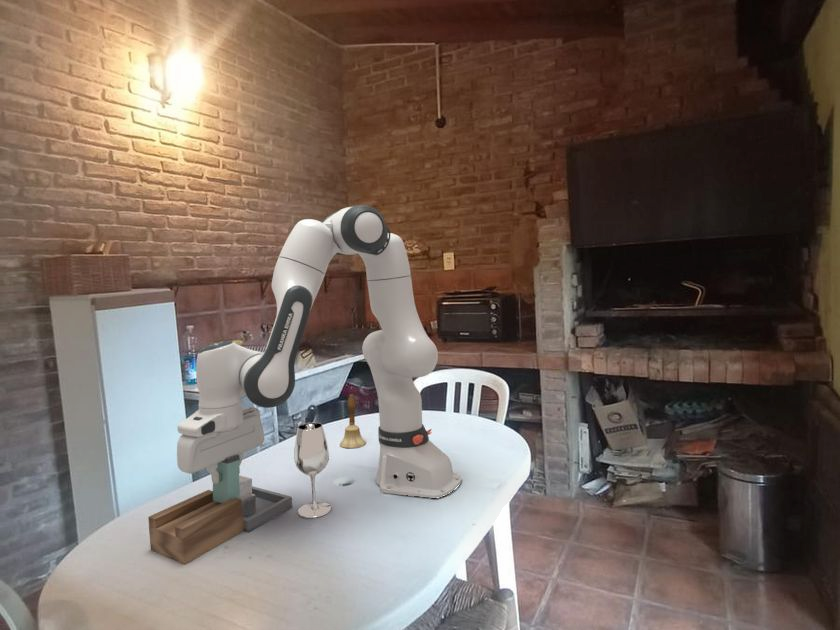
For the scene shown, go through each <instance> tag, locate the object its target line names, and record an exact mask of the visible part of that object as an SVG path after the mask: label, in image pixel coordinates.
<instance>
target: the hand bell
mask: <svg viewBox="0 0 840 630" xmlns="http://www.w3.org/2000/svg"><path fill="white" fill-rule="evenodd" d="M348 395H349V396H348V399H347V410H348V415H349V422H348V424H349V425H348V426H346V427H345V428H344V435H343V439H342V440H341V441H340V443H339V446H340V447H341V448H344V449H358V448H361V447H363V446H365V445H366V444H367V442H366V439H364V438H363V436H362V434H361V431H360V427H359V426H358V425H357V424H355V422H356V419H355V413H356V407H357V402H356V399H355V395H354V394H353V393H351V394H348Z"/></svg>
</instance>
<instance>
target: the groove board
mask: <svg viewBox="0 0 840 630" xmlns="http://www.w3.org/2000/svg"><path fill="white" fill-rule="evenodd" d="M147 518H148V531H149V544H150V545H149V546H150V551H152V552H155V553H157V554H160V555H162V556H164V557H167V558H170V559H171V560H174V561H176V562H179V563H182V564H183V565H186V564H188V563H190V562H192V561H193V560H195V559H197V558H199V557H200V556H202V555H204V554H205V553H208V552H210V551H211V550H212V549H215V548H216V547H219V545H221V544H223V543H225V542H227V541H228V540H230V539H232V538H234V537H235V536H237V535H239V534H241V533H243V532H245V531H244V528H243V513H242V503H241V499H238V498H235V497H234V498H232V499H230V500H228V501H226V502H224V503H219V502H216V501H213V490H210V489H207V490H205V491H202V492H200V493H198V494H195V495H193V496H190V497H189V498H187V499H185V500H183V501H181V502H178V503H176V504H173V505H171V506H169V507H167V508H165V509H163V510H160V511H158V512H156V513H153V514H151V515H150V516H148V517H147Z"/></svg>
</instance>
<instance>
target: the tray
mask: <svg viewBox="0 0 840 630" xmlns="http://www.w3.org/2000/svg"><path fill="white" fill-rule="evenodd" d="M252 494H255V495H256V512H254V513H252V514H250V515H248V516H245V517H243V528H244V531H243V532H246V533H250V532H252V531H254V530H255V529H257V528H259V527H260V526H262V525H264V524H266V523H267V522H270V521H271V520H272V519H275V518H277V517H278V516H280V515H281V514H283V513H285V512H286V511H288V510H290V509H292V508H293V496H291V495H290V496H289V495H287V494H282V493H279V492H275V491H271V490H268V489H264V488H261V487H256V486H253V485H252Z"/></svg>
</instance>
